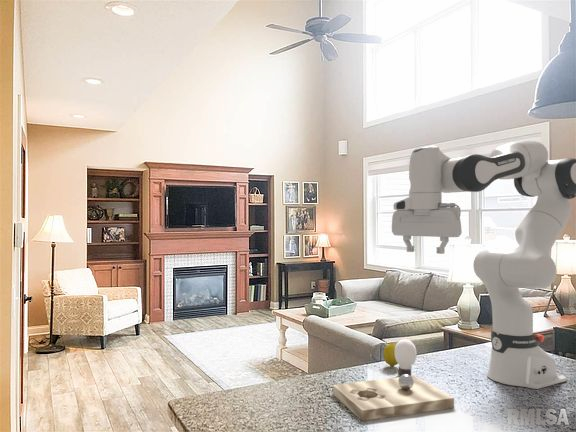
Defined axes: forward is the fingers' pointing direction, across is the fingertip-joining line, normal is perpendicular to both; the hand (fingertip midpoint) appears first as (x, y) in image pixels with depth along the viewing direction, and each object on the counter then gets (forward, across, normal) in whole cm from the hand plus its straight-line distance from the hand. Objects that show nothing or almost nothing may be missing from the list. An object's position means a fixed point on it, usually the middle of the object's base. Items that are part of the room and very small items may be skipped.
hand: (425, 252), depth 131 cm
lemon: (+39, +19, -11) cm, 45 cm away
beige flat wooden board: (+39, +2, +13) cm, 41 cm away
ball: (+34, 0, +9) cm, 35 cm away
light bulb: (+39, +12, -8) cm, 42 cm away
